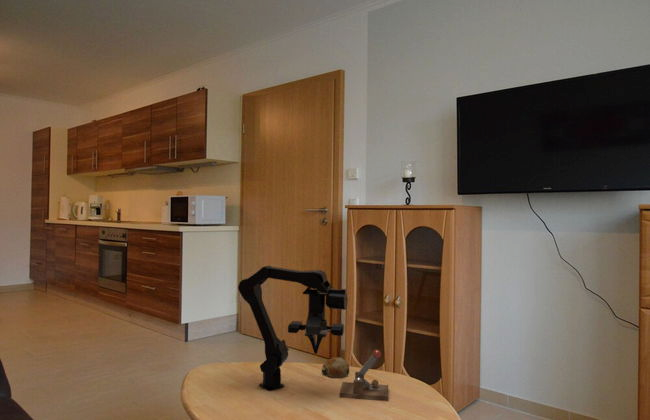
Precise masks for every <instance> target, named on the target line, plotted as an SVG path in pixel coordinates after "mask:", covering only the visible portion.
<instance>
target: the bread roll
mask: <svg viewBox="0 0 650 420" xmlns="http://www.w3.org/2000/svg"><path fill="white" fill-rule="evenodd" d="M321 372H322V373H323V375H324V376H326V377H328V378H332V379H335V378H336V379H342V378H346V377H347V378H348V377H349V375H350V374H349V373H350V365H349V363H348V362H347V361H346V360H345V359H343V358H342V357H338V356H337V357H331V358H329V359H327V360H326V361H325V362H324V363H323V364H322V369H321Z"/></svg>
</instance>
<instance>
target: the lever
mask: <svg viewBox="0 0 650 420" xmlns="http://www.w3.org/2000/svg"><path fill="white" fill-rule="evenodd" d="M381 356H382V352H381V350H379V349H374V350H373V352H372V355H370V357H368V359H367V361H366V362H365V363H364V365H363V366H362V367H361V368H360V370H359V371H357V372H358V373H357V375H356V376H355V375H354V376H355V377H354V378H356V380H359V381H363V385H364V386H365V387H367V388H369V386H370V384H371V382H369V381H368V380H366V379H365V374H366V373H367V372H368V371H369V370H370V368H371V367H372V366H373V365H374V364H375V362H376V361H377V360H378V359H379V358H381ZM363 376H364V378H363ZM362 378H363V379H362Z"/></svg>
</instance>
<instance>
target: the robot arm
mask: <svg viewBox="0 0 650 420" xmlns="http://www.w3.org/2000/svg"><path fill="white" fill-rule="evenodd" d="M268 279H273V280H280V281H287V282H292V283H298V284H301V285H302V286H304V287H306V289H305V290H304V291H302V294H303V295H307V296H308V304H307V305H308V307H307V309H308V312H307V318H306V321H305V324H303V321H301V320H300V321H297V320H296V321H295V320H292V321H290V323H289V324H288V326H287V333H288V334H298V332H299V331H304V336H305V337H307V338H308V339H309V341H310V343H311V346H312V347H311V348H312V350H313V354H315V355H317V354H318V351H319V348H320V345H321V342H322V340H323V338H326V337H327V335H328V334H329V333H330V334H331V335H332V336H344V333H345V324H343V323H332V324H331V325H328V321H327V319H326V307H328V309H329V310H330V309H331V310H347V308H348V301H349V300H348V293H347V289H346V288H340V289H339V288H337V289H336V288H333V286H332V284H331V283H330V281H329V280H328V276H327V273H326V272H325V271H323V270H321V269H315V270H314V269H313V270H312V269H311V270H297V269H290V268H283V267H276V266H272V265H265V266H263V267H261V268H260V269H259V270H257V271H256V272H255V273H254V274H252V275H251V276H249V277H248V278H244V279H242V280H241V281H240V282H239V283H238V285H237V289H238V292H239V294H240V295H241V297H242V299H243V300H244V301H245V302H246V303H247V304H248V305H249V307H250V309H251V312H252V315H253V317H254V319H255V323H256V325H257V326H258V329H259V332H260V335H261V337H262V339H263V342H264V354H265V355H264V356H265V360H264V361H263V362H262V363H261V364H260V365H259V369H260V371H261V372H262V382H260V383H259V384H258V386H259V387H261V388H264V389H265V390H267V391H269V392H270V391H273V390H276V389H281V388H284V387H285V385H284V384H283V383H282V374H281V372H282V369H281V366H283V364H284V363H285V362H286V361H287V359H288V356H289V348H288V347H287V344H286V340H285V339H283V340H280V339H279V337H278V336H277V334H276V332H275V329H274V326H273V324H272V321H271V318H270V316H269V314H268V311H267V309H266V306H265V304H264V301H263V290H262V286H261V285H263V284H265V282H266V281H267V280H268Z"/></svg>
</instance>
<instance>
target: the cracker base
mask: <svg viewBox="0 0 650 420" xmlns="http://www.w3.org/2000/svg"><path fill="white" fill-rule="evenodd" d="M358 372H359V371H355V373H354V376H356V375H357V373H358ZM354 378H355V377H354ZM363 378H364V379H365V375H364V376H363ZM363 378H362V379H363ZM339 398H344V399H345V398H346V399H358V400H359V399H360V400H371V401H381V402H382V401H384V402H388V401H389V384H379V381H378V379H373V380H372V381H371V382H370V386H369V388H367V387H365V386H364V385H363V381H359V380H356V378H355V379H354V380H353V382H349V381H342V383H341V387H340V389H339Z"/></svg>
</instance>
